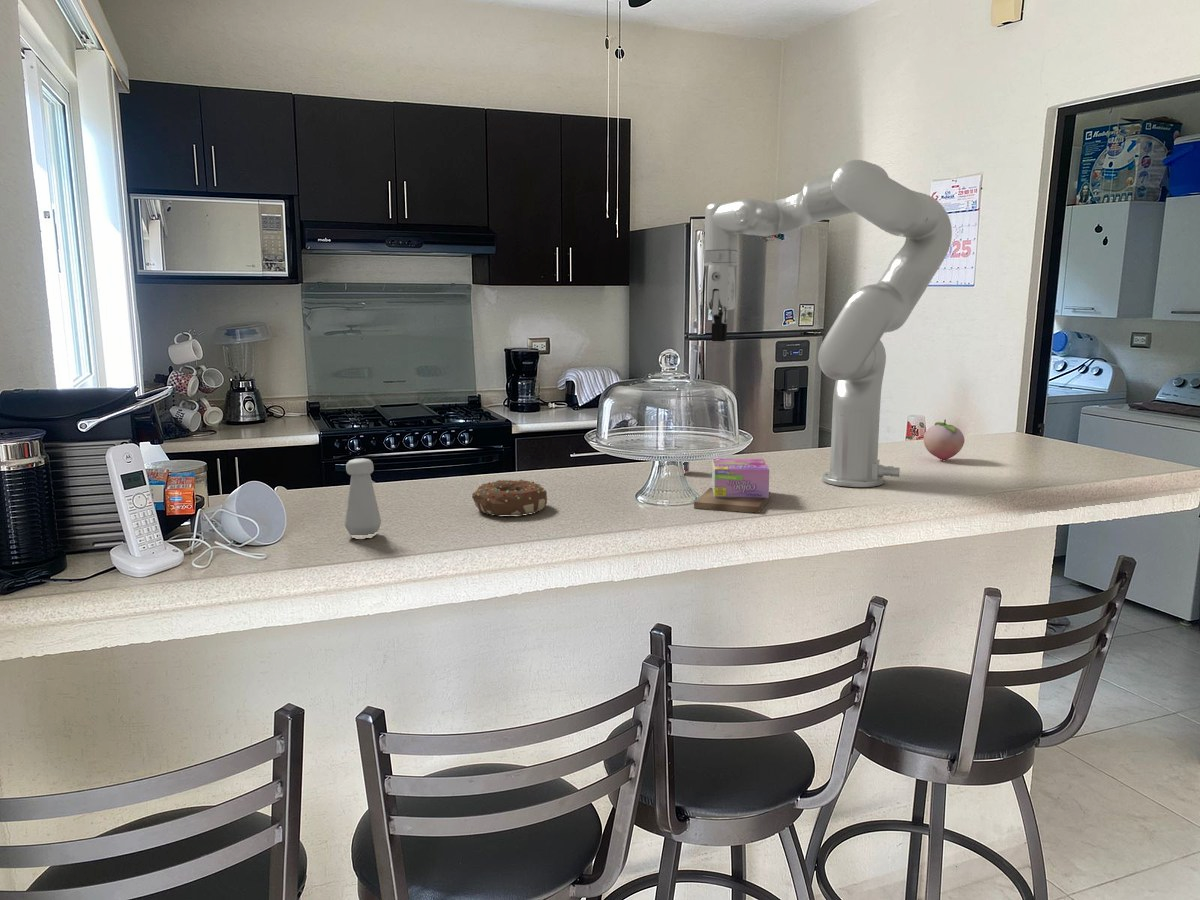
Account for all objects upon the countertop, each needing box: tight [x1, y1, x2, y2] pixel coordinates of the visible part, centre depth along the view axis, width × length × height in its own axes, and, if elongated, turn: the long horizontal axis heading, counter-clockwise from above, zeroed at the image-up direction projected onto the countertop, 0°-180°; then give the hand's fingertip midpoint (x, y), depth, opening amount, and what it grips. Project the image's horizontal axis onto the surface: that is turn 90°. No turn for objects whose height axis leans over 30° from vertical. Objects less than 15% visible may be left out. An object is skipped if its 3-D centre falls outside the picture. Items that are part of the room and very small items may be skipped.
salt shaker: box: [344, 457, 382, 536], centre depth 140 cm, size 6×6×13 cm
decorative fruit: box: [923, 419, 965, 461], centre depth 202 cm, size 9×8×10 cm
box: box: [711, 457, 770, 498], centre depth 166 cm, size 10×6×12 cm
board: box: [693, 487, 771, 514], centre depth 162 cm, size 12×13×1 cm
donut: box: [471, 479, 548, 515], centre depth 158 cm, size 14×14×5 cm
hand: (719, 340), depth 195 cm, fingers closed
